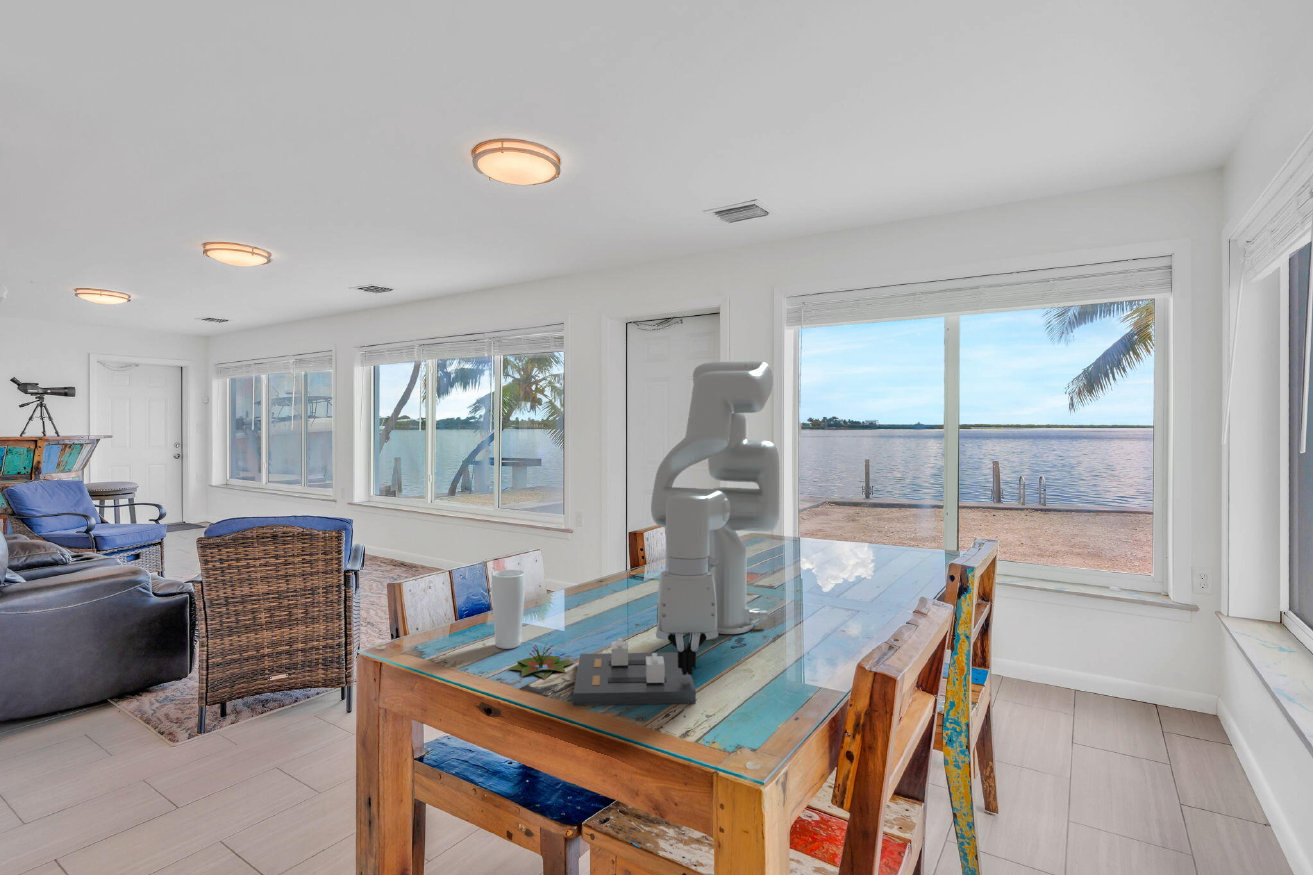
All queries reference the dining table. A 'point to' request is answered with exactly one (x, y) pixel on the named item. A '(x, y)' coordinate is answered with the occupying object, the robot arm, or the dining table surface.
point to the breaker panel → (630, 682)
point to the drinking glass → (508, 607)
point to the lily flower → (540, 664)
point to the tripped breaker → (655, 669)
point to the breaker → (619, 652)
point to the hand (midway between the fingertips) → (686, 671)
